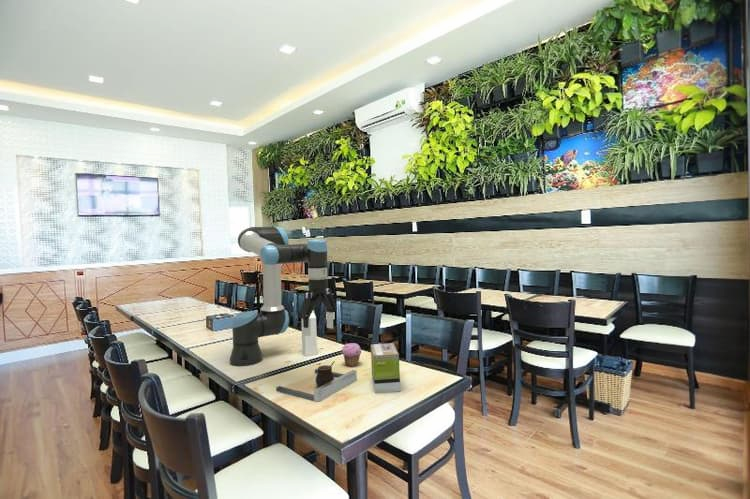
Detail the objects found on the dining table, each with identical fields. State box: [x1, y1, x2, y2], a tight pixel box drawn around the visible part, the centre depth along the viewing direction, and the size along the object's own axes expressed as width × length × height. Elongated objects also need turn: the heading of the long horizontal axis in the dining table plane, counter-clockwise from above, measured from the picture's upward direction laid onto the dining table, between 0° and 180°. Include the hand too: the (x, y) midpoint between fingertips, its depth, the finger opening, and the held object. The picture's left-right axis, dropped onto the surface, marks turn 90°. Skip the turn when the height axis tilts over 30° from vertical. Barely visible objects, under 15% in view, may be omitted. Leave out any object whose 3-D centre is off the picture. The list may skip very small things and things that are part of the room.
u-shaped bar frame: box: [275, 368, 358, 403], centre depth 156 cm, size 21×24×4 cm
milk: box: [300, 309, 318, 357], centre depth 199 cm, size 6×6×22 cm
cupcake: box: [341, 342, 362, 367], centre depth 181 cm, size 9×9×10 cm
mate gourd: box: [315, 361, 335, 388], centre depth 154 cm, size 7×8×10 cm
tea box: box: [370, 342, 401, 394], centre depth 155 cm, size 15×10×15 cm, turn 5°
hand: (319, 331), depth 156 cm, fingers open, 13 cm apart
